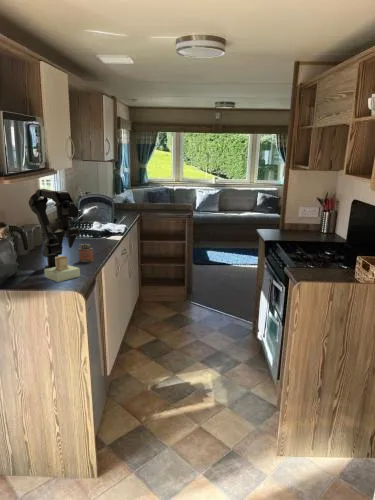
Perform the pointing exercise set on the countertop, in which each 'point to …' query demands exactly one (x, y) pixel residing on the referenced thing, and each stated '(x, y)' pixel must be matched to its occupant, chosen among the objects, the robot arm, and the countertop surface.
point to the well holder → (62, 273)
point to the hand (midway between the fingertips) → (65, 246)
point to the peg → (61, 263)
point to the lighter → (85, 253)
